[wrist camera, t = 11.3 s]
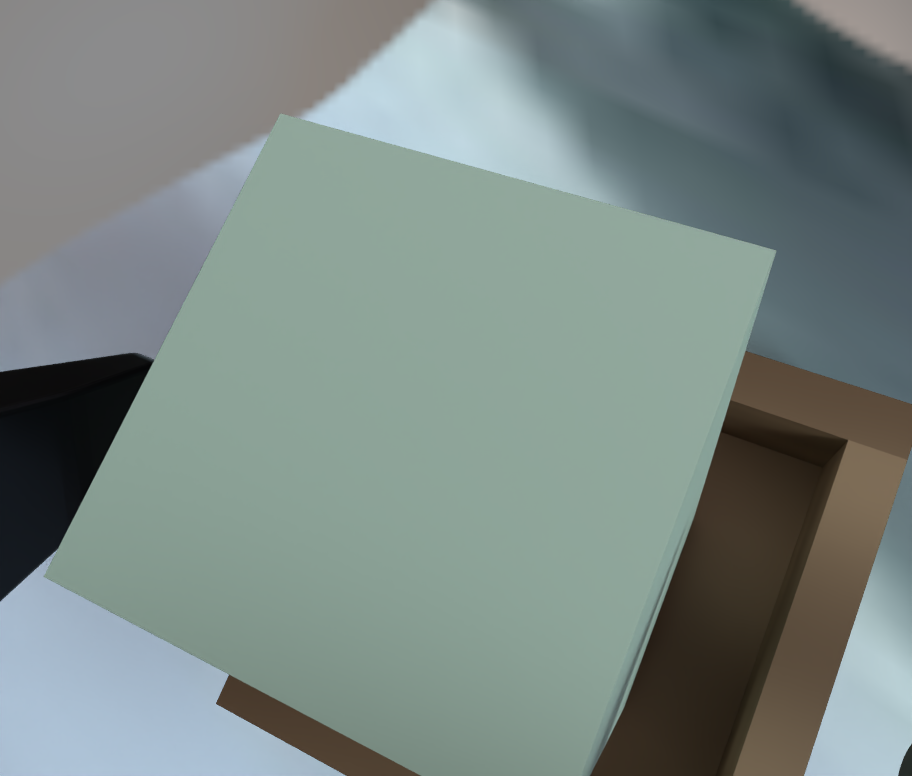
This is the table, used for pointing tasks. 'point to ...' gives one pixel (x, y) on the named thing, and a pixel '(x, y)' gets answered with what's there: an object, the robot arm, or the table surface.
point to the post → (423, 451)
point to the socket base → (732, 591)
